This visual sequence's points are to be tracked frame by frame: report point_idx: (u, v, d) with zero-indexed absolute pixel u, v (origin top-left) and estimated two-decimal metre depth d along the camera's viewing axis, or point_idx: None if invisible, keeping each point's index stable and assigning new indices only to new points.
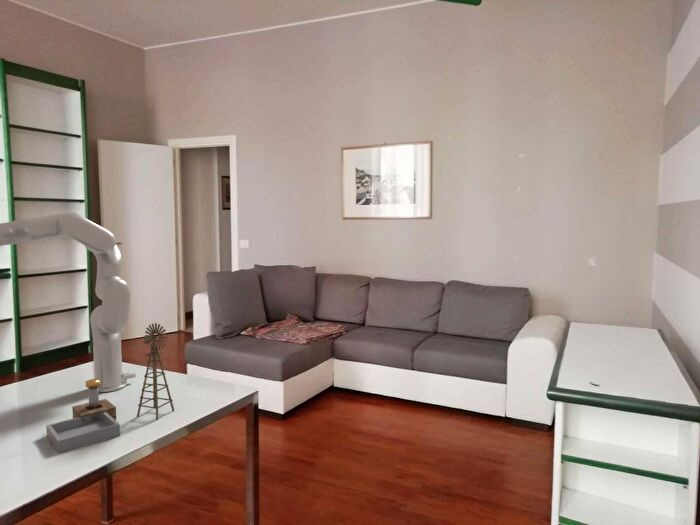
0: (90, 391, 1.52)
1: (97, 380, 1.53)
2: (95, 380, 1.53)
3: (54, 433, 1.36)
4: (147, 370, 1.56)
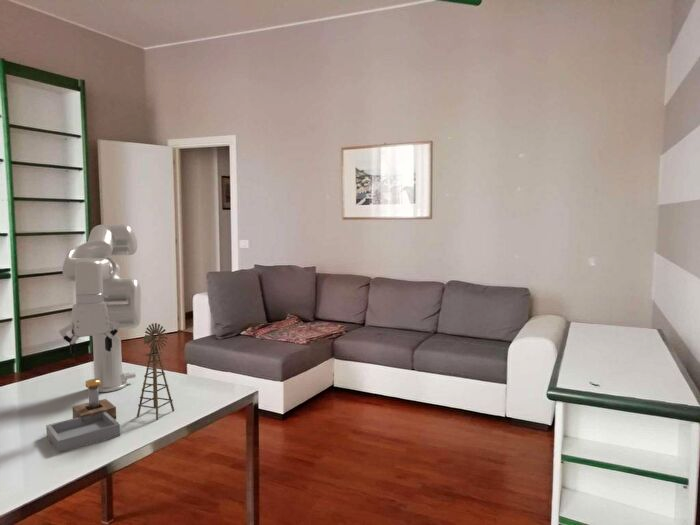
0: (90, 391, 1.52)
1: (97, 380, 1.53)
2: (95, 380, 1.53)
3: (54, 433, 1.36)
4: (147, 370, 1.56)
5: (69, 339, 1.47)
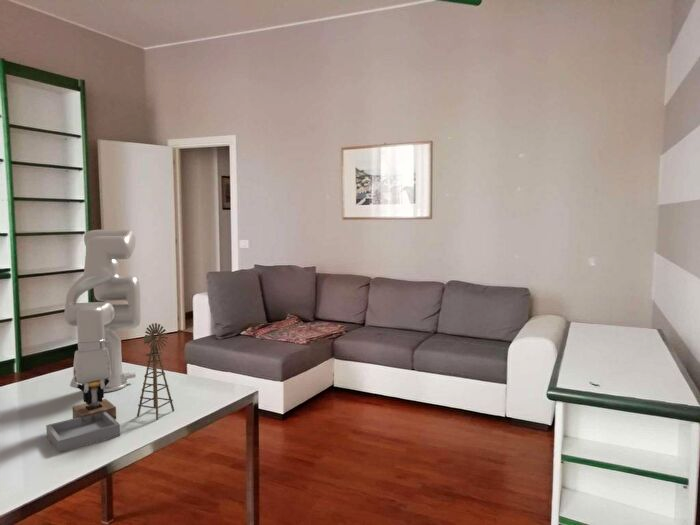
0: (90, 391, 1.52)
1: None
2: None
3: (54, 433, 1.36)
4: (147, 370, 1.56)
5: None
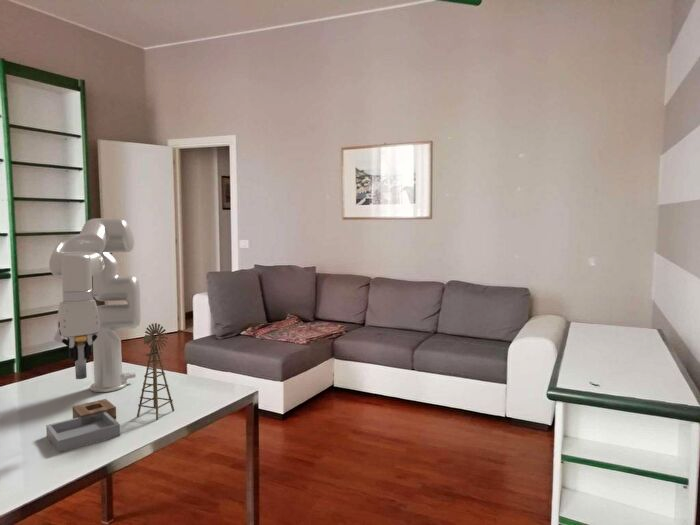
0: (76, 346, 1.38)
1: (84, 335, 1.40)
2: None
3: (54, 433, 1.36)
4: (147, 370, 1.56)
5: None
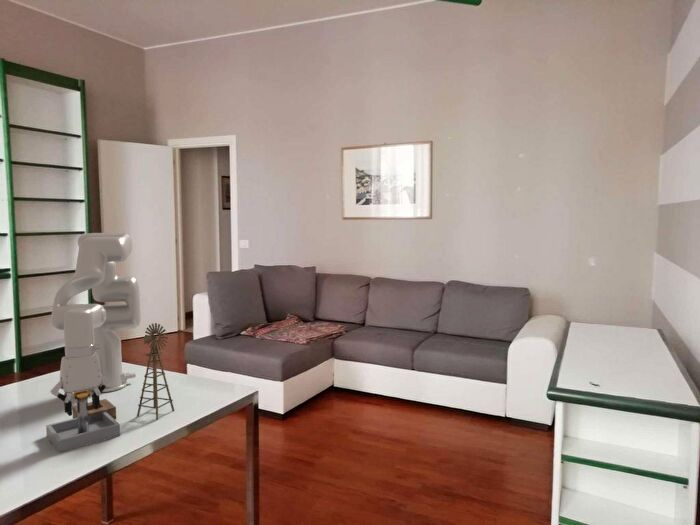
0: (78, 403, 1.40)
1: (86, 391, 1.41)
2: (84, 391, 1.41)
3: (54, 433, 1.36)
4: (147, 370, 1.56)
5: (62, 398, 1.37)
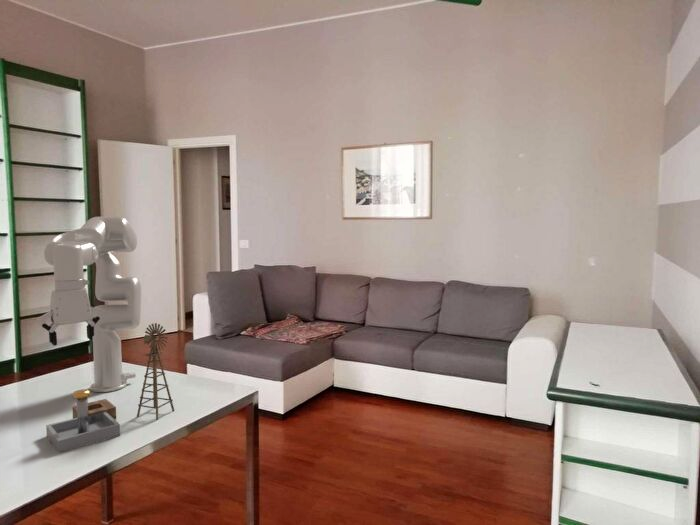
0: (78, 403, 1.40)
1: (86, 391, 1.41)
2: (84, 391, 1.41)
3: (54, 433, 1.36)
4: (147, 370, 1.56)
5: (48, 327, 1.39)
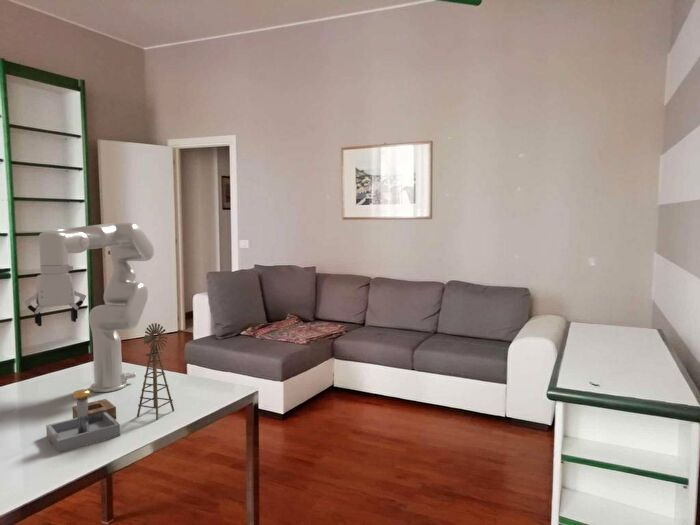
0: (78, 403, 1.40)
1: (86, 391, 1.41)
2: (84, 391, 1.41)
3: (54, 433, 1.36)
4: (147, 370, 1.56)
5: (33, 309, 1.49)
